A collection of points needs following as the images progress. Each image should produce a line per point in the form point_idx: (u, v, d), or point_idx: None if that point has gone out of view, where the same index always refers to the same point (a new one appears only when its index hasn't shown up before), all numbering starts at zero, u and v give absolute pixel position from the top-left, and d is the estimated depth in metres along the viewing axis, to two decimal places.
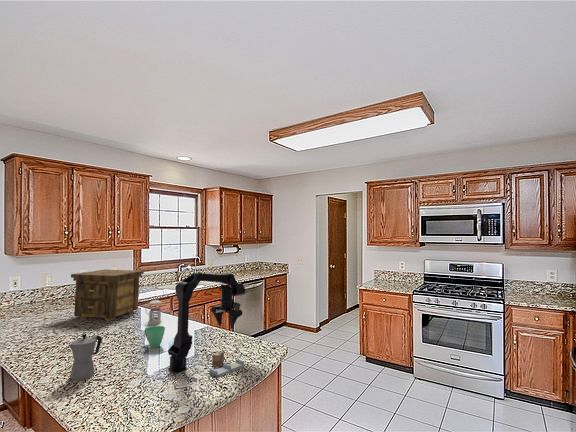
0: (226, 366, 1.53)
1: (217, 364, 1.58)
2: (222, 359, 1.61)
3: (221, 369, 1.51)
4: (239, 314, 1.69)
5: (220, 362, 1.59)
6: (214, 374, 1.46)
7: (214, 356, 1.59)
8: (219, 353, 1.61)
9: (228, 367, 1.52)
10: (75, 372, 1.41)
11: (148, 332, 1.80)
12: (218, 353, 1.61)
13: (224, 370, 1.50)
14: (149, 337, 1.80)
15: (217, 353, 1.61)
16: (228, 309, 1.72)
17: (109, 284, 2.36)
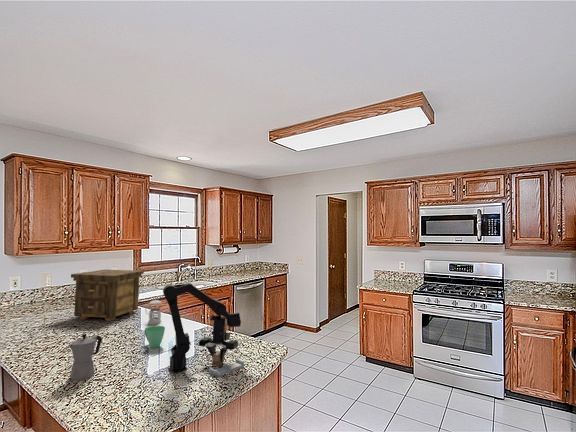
0: (226, 366, 1.53)
1: (217, 364, 1.58)
2: None
3: (221, 369, 1.51)
4: (236, 346, 1.59)
5: (220, 362, 1.59)
6: (214, 374, 1.46)
7: (214, 356, 1.59)
8: (219, 353, 1.61)
9: (228, 367, 1.52)
10: (75, 372, 1.41)
11: (148, 332, 1.80)
12: (218, 353, 1.61)
13: (224, 370, 1.50)
14: (149, 337, 1.80)
15: (217, 353, 1.61)
16: (222, 341, 1.59)
17: (109, 284, 2.36)
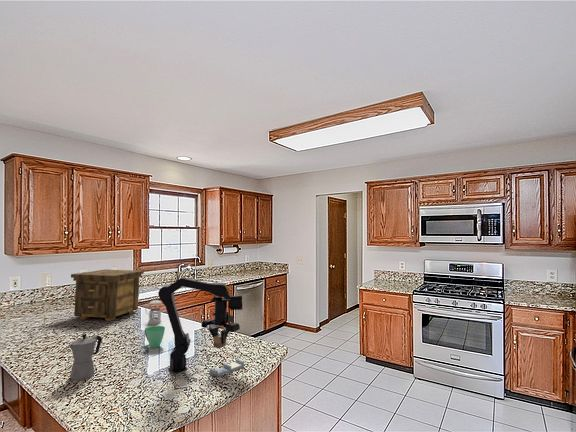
0: (226, 366, 1.53)
1: (218, 346, 1.54)
2: None
3: (221, 369, 1.51)
4: (237, 328, 1.54)
5: (221, 344, 1.55)
6: (214, 374, 1.46)
7: (215, 338, 1.55)
8: None
9: (228, 367, 1.52)
10: (75, 372, 1.41)
11: (148, 332, 1.80)
12: (220, 335, 1.57)
13: (224, 370, 1.50)
14: (149, 337, 1.80)
15: (219, 335, 1.57)
16: (223, 323, 1.55)
17: (109, 284, 2.36)
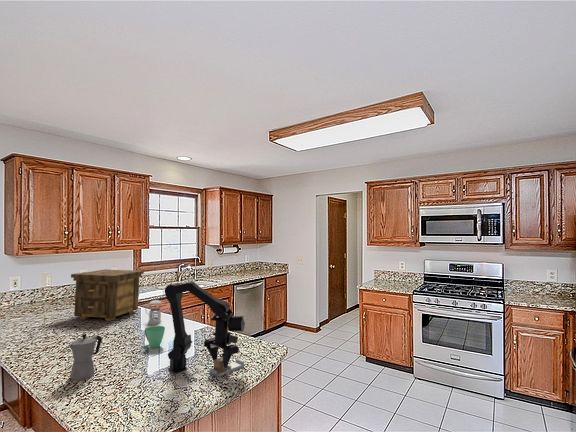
0: None
1: None
2: None
3: None
4: (235, 351, 1.45)
5: (221, 369, 1.48)
6: (214, 374, 1.46)
7: (215, 361, 1.49)
8: (221, 359, 1.50)
9: (228, 367, 1.52)
10: (75, 372, 1.41)
11: (148, 332, 1.80)
12: (220, 359, 1.50)
13: None
14: (149, 337, 1.80)
15: (219, 359, 1.50)
16: (222, 345, 1.48)
17: (109, 284, 2.36)
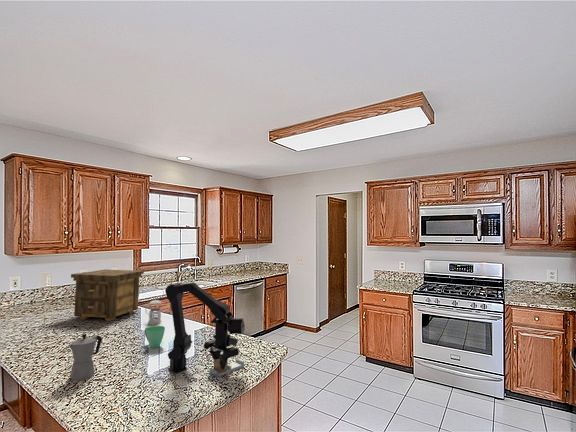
0: None
1: None
2: None
3: None
4: (235, 354, 1.45)
5: (221, 369, 1.48)
6: (214, 374, 1.46)
7: (215, 361, 1.49)
8: None
9: (228, 367, 1.52)
10: (75, 372, 1.41)
11: (148, 332, 1.80)
12: None
13: None
14: (149, 337, 1.80)
15: (219, 359, 1.50)
16: (222, 347, 1.48)
17: (109, 284, 2.36)
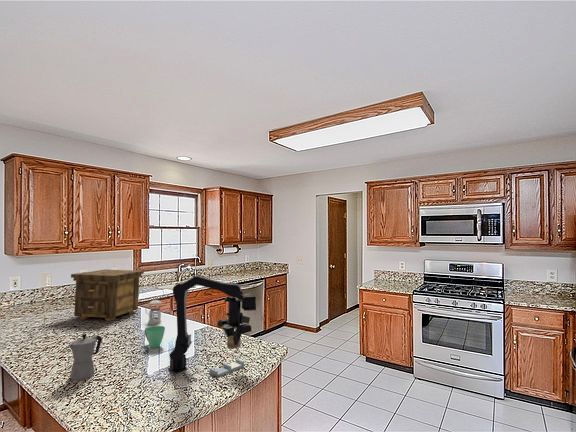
0: (226, 366, 1.53)
1: (231, 347, 1.53)
2: (238, 343, 1.56)
3: (221, 369, 1.51)
4: (248, 330, 1.51)
5: (234, 345, 1.54)
6: (214, 374, 1.46)
7: (228, 338, 1.55)
8: None
9: (228, 367, 1.52)
10: (75, 372, 1.41)
11: (148, 332, 1.80)
12: None
13: (224, 370, 1.50)
14: (149, 337, 1.80)
15: None
16: (236, 324, 1.54)
17: (109, 284, 2.36)
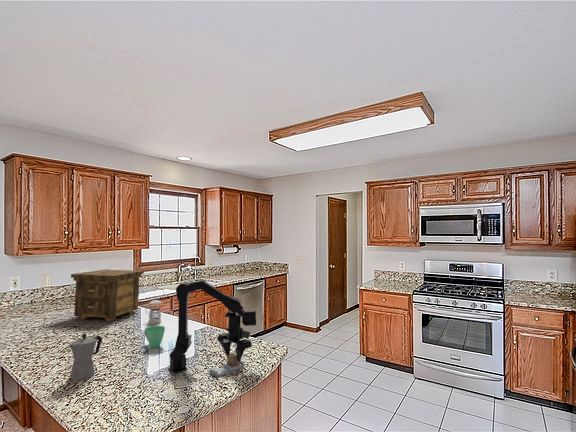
0: (226, 366, 1.53)
1: (230, 365, 1.53)
2: (237, 361, 1.55)
3: (221, 369, 1.51)
4: (248, 346, 1.51)
5: (234, 364, 1.54)
6: (214, 374, 1.46)
7: (228, 357, 1.55)
8: (234, 354, 1.56)
9: (228, 367, 1.52)
10: (75, 372, 1.41)
11: (148, 332, 1.80)
12: (233, 354, 1.56)
13: (224, 370, 1.50)
14: (149, 337, 1.80)
15: (233, 354, 1.56)
16: (236, 339, 1.54)
17: (109, 284, 2.36)
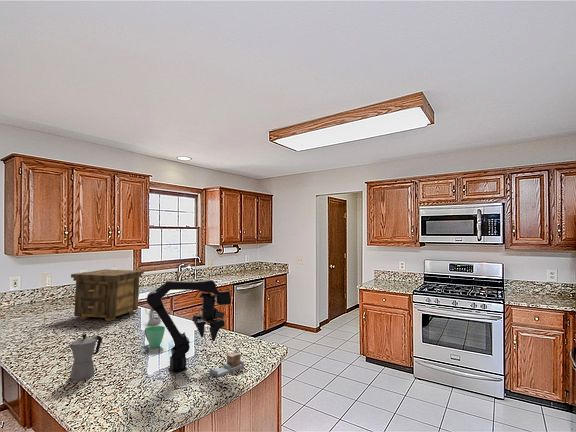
0: (226, 366, 1.53)
1: (230, 365, 1.53)
2: (237, 361, 1.55)
3: (221, 369, 1.51)
4: (221, 325, 1.54)
5: (234, 364, 1.54)
6: (214, 374, 1.46)
7: (228, 357, 1.55)
8: (234, 354, 1.56)
9: (228, 367, 1.52)
10: (75, 372, 1.41)
11: (148, 332, 1.80)
12: (233, 354, 1.56)
13: (224, 370, 1.50)
14: (149, 337, 1.80)
15: (233, 354, 1.56)
16: (209, 319, 1.57)
17: (109, 284, 2.36)
